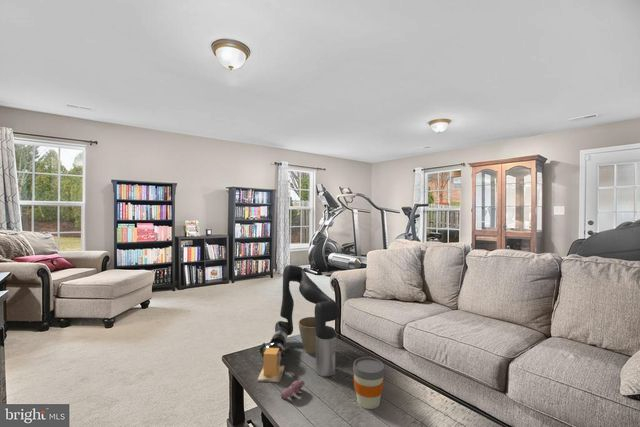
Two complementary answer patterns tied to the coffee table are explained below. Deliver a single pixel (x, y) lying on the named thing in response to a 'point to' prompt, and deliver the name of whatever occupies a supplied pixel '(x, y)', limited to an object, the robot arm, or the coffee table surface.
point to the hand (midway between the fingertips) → (272, 355)
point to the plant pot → (308, 334)
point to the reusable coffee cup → (368, 381)
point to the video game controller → (293, 389)
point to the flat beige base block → (271, 378)
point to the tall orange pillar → (271, 361)
